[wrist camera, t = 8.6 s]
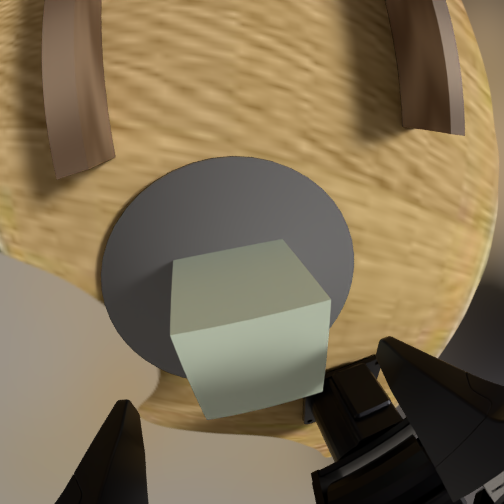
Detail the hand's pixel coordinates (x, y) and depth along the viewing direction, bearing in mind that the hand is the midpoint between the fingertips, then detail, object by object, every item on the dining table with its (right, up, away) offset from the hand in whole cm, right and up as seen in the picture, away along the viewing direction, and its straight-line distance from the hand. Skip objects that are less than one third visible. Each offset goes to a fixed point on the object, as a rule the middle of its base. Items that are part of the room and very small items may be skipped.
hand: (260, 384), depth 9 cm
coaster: (-1, +2, +6) cm, 6 cm away
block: (-1, +2, +5) cm, 6 cm away
